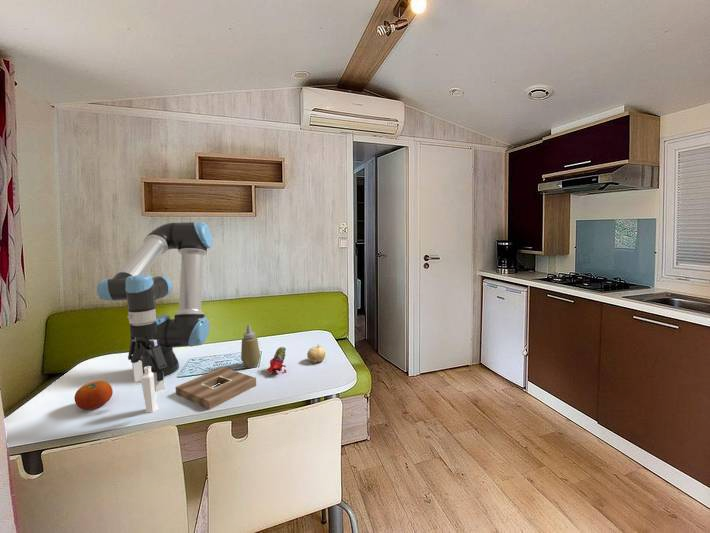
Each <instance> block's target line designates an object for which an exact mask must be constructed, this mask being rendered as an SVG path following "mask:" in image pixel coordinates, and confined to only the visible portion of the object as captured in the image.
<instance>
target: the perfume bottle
mask: <svg viewBox="0 0 710 533" xmlns="http://www.w3.org/2000/svg"><path fill="white" fill-rule="evenodd" d="M144 371H145V373H144V374H143V375H142V376H141V380H140V382H141V388H142V392H143V398H144V399H143V400H144V404H145V414H147V413H155V412H156V411H158V410H159V409H160V408H159V406H158V391H157V392H155V387H154V376H153V372H151V366H147V367H144Z"/></svg>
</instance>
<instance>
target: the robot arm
mask: <svg viewBox="0 0 710 533" xmlns="http://www.w3.org/2000/svg"><path fill="white" fill-rule="evenodd" d="M212 246H213V236H212V232H211V229H210V227H209V226H208V225H207V223H206V222H203V221H201V222H199V221H198V222H197V221H192V222H191V221H190V222H189V221H187V222H185V221H184V222H168V223H164V224H162V225H159V226H158V227H157V228H155V229H153V230H152V231H151V232H149V233H148V234H147V235H146V236H145V237H144V238H143V244H142V245H140V247H139V248H138V249H137V251H135V252H134V254H133V255H132V256H131V257H130V258H129V259H128V260H127V262H126V263H125V264H124V265H123V266H122V267H121V268H120V269H119V270H118V272H117V273H116V274H115V275H114V276H113V277H112V278H105V279H102V280H100V281H99V282H98V283H97V286H96V294H97V296H98V298H99V299H100V300H102V301H114V302H116V301H127V302H126V303H127V312H128V315H127V319H128V322H129V324H130V325H129V334H130V344H129V348H128V349H129V351H128V356H127V359H128V361H130V362H131V363H132V364H131V366H132V375H133V376H132V377H133V382H134V383H137V382H141V376H142V375H143V374H144V373H145V371H144V367H147V366H151V372H153V376H154V387H155V392H157V393H158V392H159V391H161V390H165V388H166V387H165V379H164V378H165V376H168V375H171V374H173V373H175V372H176V371H178V370H179V368H180V364H179V360H178V358H177V356H176V353H175V351H174V348H177V347H178V348H181V347H184V348H185V347H186V348H187V347H189V348H190V347H198V346H201V345H203V344H204V343H205V342H206V340H207V338H208V336H209V333H210V320H209V319H208V318H207V317H205V313H204V311H202V297H203V296H202V294H203V293H202V292H203V290H202V289H203V271H204V270H203V266H204V264H203V263H204V256H205V255H206V254H208V249H210V248H212ZM175 249H176V250H177V252H178V253H179V254H180V255H181V258H180V259H181V262H180V281H179V282H180V284H179V300H178V302H179V304H178V311H177V312H176V313H174V318H171V317H170V315H169V314H163V315H157V312H156V304H155V303H156V302H155V301H156V300H158V299H163V298H165V297H166V296H168V295H169V294H171V293H172V290H173V283H172V280H171V279H170V278H168V277H167V276H163V275H161V276H160V275H159V276H158V275H156V276H154V277H153V276H152V275H151V274H147V273H148V271H149V270H150V269H151V267H152V266H153V265H154V264H155V263H156V261H157V260H158V259H159V258H160V256H161V255H164V254H166V252H167V251H169V250H175Z"/></svg>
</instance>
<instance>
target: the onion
mask: <svg viewBox="0 0 710 533" xmlns="http://www.w3.org/2000/svg"><path fill="white" fill-rule="evenodd" d="M325 358H326V351H325V349H324V348H323V347H322V346H321V345H319V344H317V346H313V347H311V348H309V350H308V351H307V359H308V361H310V362H311V363H313V364H316V363H318V362H319V363H321V362H323V360H324V359H325Z"/></svg>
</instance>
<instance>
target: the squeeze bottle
mask: <svg viewBox="0 0 710 533" xmlns="http://www.w3.org/2000/svg"><path fill="white" fill-rule="evenodd" d="M252 330H253V329H252V327H251V324H247V326H246V331H245V333H243V338H242V340H241V350H240V351H241V353H240V354H241V356H240V359H241V361H242V364H243V366H244V367H245V368H255V367H256V366H259V363H260V358H261V353H260V347H259V340H258V337H256V333H255V331H252Z"/></svg>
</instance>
